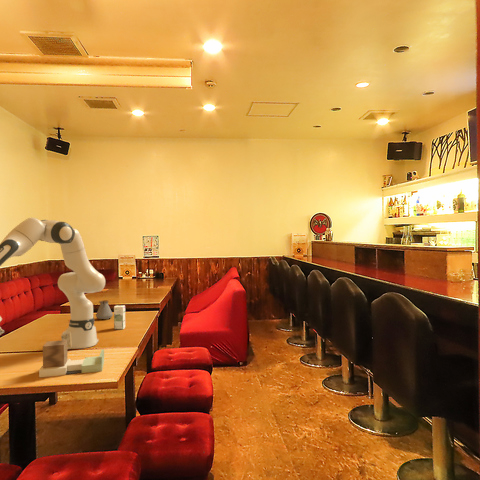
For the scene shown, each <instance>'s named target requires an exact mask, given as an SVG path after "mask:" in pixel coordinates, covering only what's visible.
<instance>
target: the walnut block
mask: <svg viewBox="0 0 480 480" xmlns="http://www.w3.org/2000/svg"><path fill="white" fill-rule="evenodd" d="M67 359H68V349H67V340H62V339H61V340H52V341H51V340H50V341H46V342H45V343H44V344H43V346H42V366H43V368H51V367H62V366H65V364H66V362H67Z"/></svg>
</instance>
